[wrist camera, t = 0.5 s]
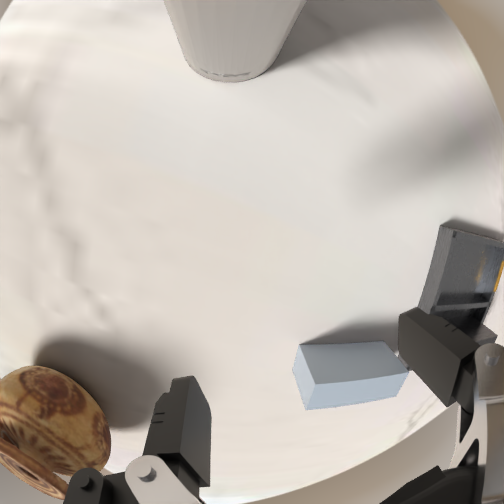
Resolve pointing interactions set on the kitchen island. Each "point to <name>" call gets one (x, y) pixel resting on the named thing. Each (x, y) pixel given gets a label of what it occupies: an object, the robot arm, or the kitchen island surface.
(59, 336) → the kitchen island surface
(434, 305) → the dark grey tray
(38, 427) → the clay pot
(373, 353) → the panel
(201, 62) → the robot arm
